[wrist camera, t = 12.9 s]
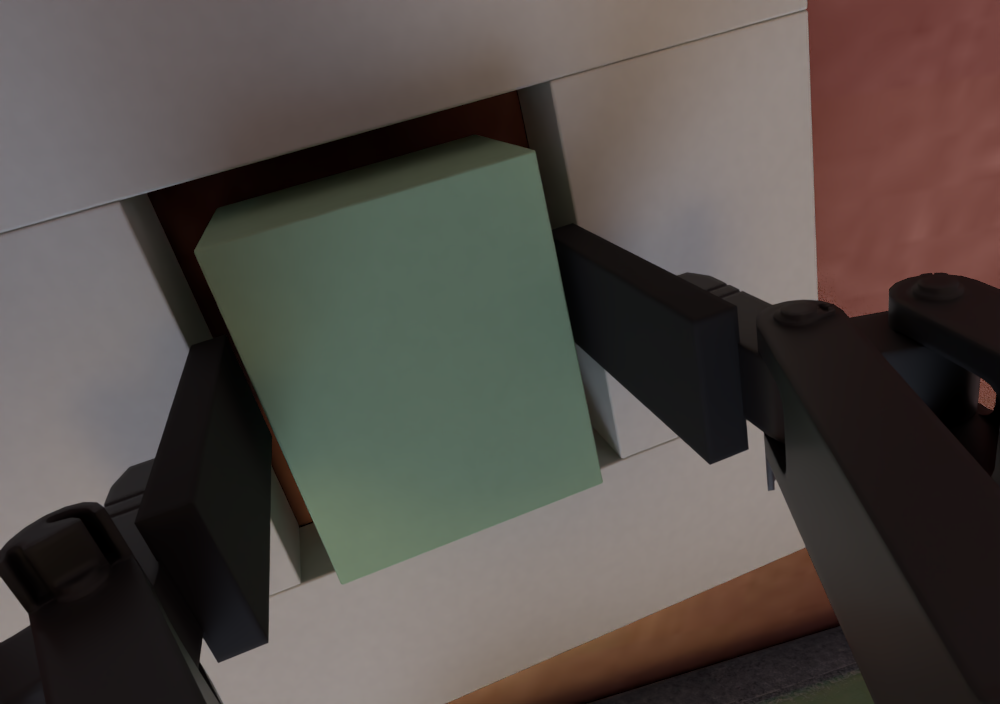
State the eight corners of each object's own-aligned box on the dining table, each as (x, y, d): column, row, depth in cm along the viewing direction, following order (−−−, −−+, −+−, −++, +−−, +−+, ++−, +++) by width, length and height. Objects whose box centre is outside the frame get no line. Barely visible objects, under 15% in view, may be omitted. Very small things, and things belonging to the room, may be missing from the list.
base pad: (-401, -54, 12) (-563, -86, 9) (722, -270, 15) (797, -329, 13) (161, 754, 21) (146, 834, 19) (778, 497, 25) (827, 538, 22)
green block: (215, 208, 16) (192, 250, 12) (476, 133, 17) (536, 149, 13) (329, 481, 19) (341, 586, 15) (541, 404, 20) (604, 483, 16)
